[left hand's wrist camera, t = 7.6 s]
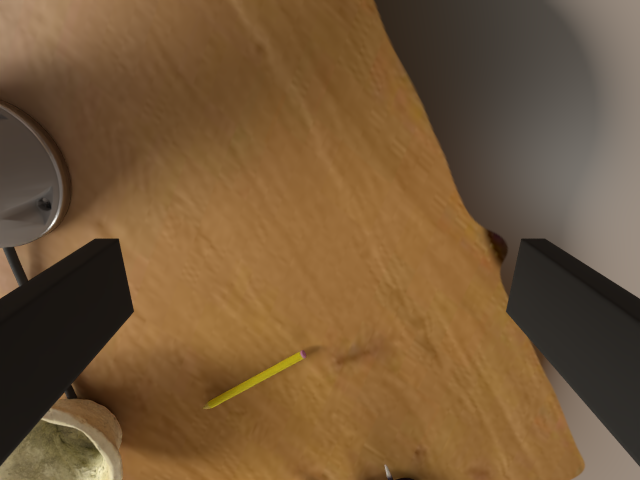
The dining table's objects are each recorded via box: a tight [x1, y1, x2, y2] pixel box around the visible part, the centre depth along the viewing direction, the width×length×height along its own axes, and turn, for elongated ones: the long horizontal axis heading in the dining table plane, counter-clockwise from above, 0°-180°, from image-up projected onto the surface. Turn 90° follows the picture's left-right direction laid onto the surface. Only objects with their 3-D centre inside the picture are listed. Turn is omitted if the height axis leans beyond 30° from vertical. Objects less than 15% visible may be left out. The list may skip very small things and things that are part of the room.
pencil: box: [202, 350, 306, 409], centre depth 48 cm, size 16×1×1 cm, turn 123°
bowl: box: [0, 399, 123, 480], centre depth 45 cm, size 14×18×15 cm
